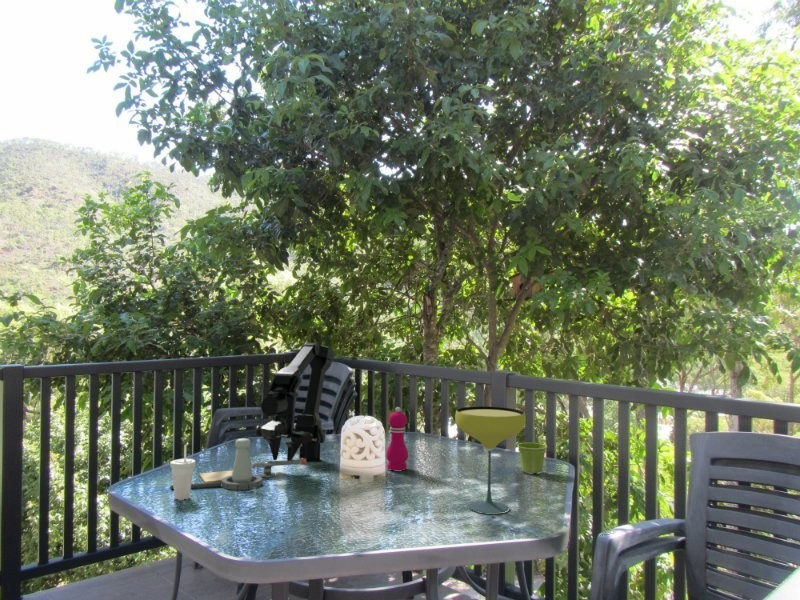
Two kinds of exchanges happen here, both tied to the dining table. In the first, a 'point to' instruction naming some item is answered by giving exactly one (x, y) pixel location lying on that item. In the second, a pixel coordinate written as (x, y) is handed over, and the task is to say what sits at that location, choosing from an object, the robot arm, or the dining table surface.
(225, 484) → the grey ring with rod
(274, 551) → the dining table surface
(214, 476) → the coaster
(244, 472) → the salt shaker
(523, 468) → the plant pot
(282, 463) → the clip
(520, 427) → the cocktail glass
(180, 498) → the smoothie
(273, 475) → the clip post
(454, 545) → the dining table surface
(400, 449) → the pepper mill
